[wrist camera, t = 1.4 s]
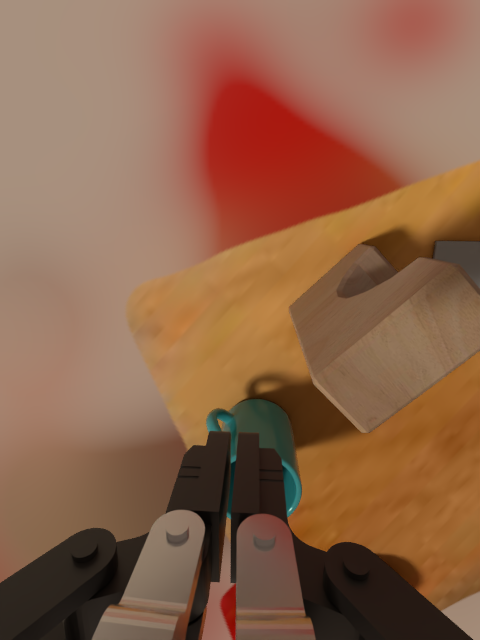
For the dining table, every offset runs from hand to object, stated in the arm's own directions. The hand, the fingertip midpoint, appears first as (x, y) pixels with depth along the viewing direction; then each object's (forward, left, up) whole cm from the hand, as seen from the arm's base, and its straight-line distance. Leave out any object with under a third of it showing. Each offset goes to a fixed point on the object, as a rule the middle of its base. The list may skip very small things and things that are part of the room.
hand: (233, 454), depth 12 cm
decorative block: (-10, 0, -30) cm, 32 cm away
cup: (0, +17, -30) cm, 35 cm away
